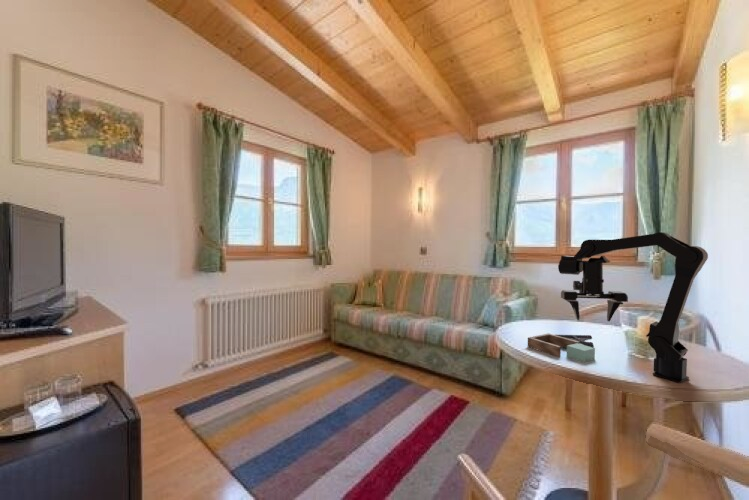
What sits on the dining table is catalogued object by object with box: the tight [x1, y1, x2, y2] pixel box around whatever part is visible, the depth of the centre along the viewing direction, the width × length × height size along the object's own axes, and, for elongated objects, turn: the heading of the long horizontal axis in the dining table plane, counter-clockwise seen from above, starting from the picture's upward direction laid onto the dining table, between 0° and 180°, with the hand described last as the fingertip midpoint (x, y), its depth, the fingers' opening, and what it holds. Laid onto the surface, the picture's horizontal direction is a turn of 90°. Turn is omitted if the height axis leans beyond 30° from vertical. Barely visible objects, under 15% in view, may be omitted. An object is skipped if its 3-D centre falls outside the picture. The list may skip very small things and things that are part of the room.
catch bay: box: [527, 332, 581, 358], centre depth 123 cm, size 12×12×4 cm
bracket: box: [555, 334, 595, 348], centre depth 131 cm, size 14×15×3 cm
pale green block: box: [566, 343, 596, 363], centre depth 114 cm, size 6×6×4 cm
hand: (593, 320), depth 115 cm, fingers open, 9 cm apart
